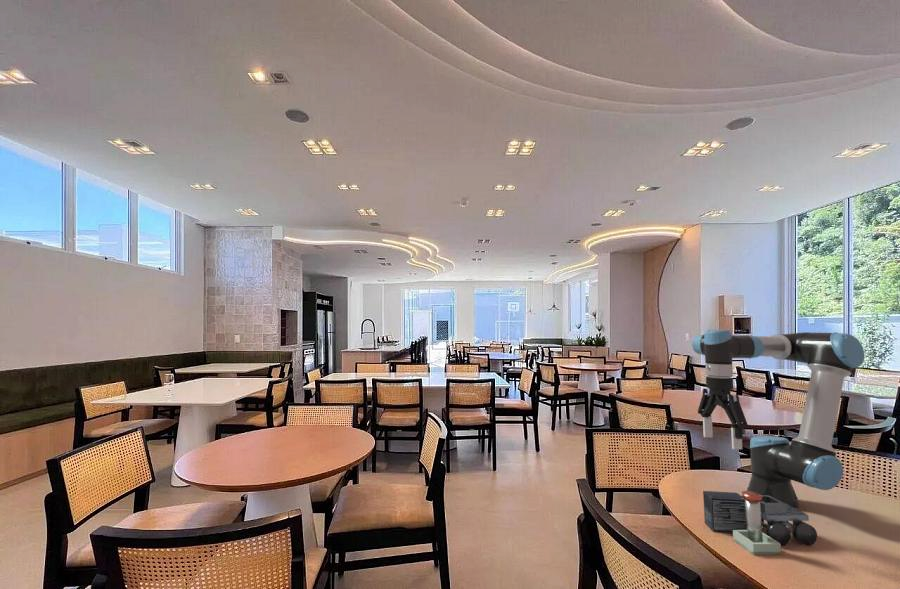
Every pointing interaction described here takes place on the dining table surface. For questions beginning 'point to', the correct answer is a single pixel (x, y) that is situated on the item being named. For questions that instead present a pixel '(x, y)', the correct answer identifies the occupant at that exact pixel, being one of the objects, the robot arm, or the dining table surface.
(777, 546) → the tray
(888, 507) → the dining table surface
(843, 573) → the dining table surface
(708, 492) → the small box
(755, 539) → the pin
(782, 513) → the trolley
